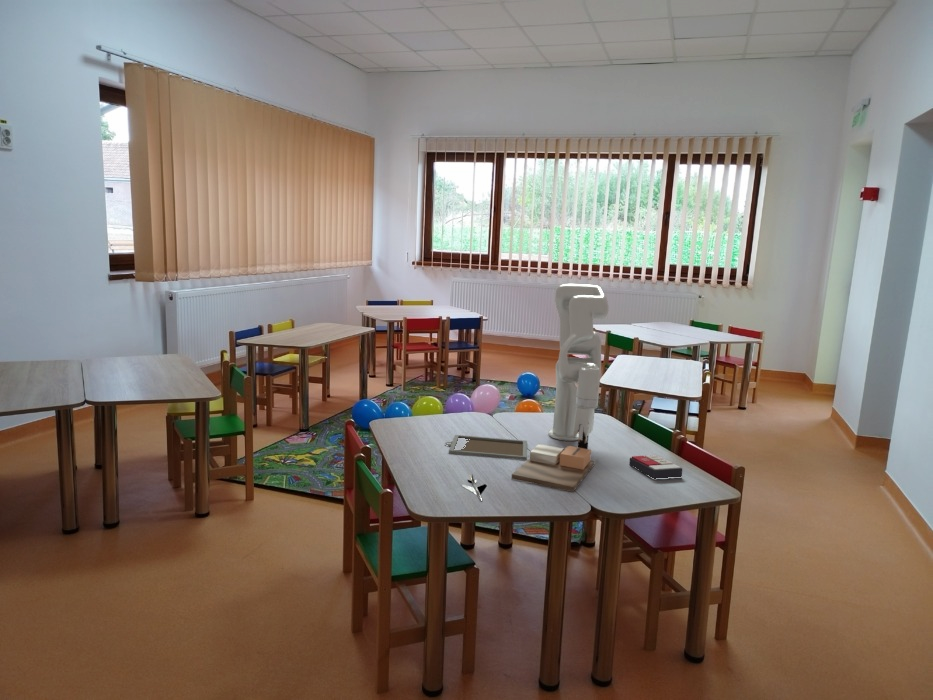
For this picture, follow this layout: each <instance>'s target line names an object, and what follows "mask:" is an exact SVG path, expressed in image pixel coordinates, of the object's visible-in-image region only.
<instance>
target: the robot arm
mask: <svg viewBox="0 0 933 700" xmlns="http://www.w3.org/2000/svg"><path fill="white" fill-rule="evenodd" d="M554 294H555V297H554V298H555V299H554V302H555V305H556V311H557V313H558V317H559V349H560V350H559V353H558V360H557V362H556V363H555V367H554V368H555V382H556V383H555V399H554V400H555V401H554V411H553V421H552V422H553V424H552V429H550V430H549V431H548V436H549V437H550V438H553V439H556V440H559V441H566V442H567V441H572V442H573V441H578V442H577V447H578V448H584V449H589V437H590V434H591V433H592V432H593V431H594V430H593V428H594V423H595V409H597V408H598V406H599V393H600V392H599V391H600V385H601V384H600V383H601V375H602V374H601V373H602V340H601V337H600V334H599V333H598V332H596V331H595V330H594V319H597V320H599V319H600V320H602V319H605V318H607V316H608V314H609V301H608V298H607V296H606V294H605V293H604V291H603V289H602V287H600V286H599V285H597V284H596V285H595V284H594V285H593V284H580V283H563V284H560V285H558V286H557V287H556V289H555V293H554ZM568 355H580V356H581V355H583V356H584V355H585V356H587V358H586V357H572V356H569V357H568ZM576 384H577V385H576Z"/></svg>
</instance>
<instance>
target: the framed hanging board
mask: <svg viewBox="0 0 933 700" xmlns="http://www.w3.org/2000/svg"><path fill="white" fill-rule="evenodd" d="M458 438H465V439H468V440H466V441H469V442H467V443H466V444H465V445H466V447H465V446H464V447H465V448H464V447H463V448H464V449H461V450H454V449H455V446H456V444H457V441H458ZM469 439H470V440H469ZM447 443H451V444H447ZM445 444H446V445H448V446H447V447H449V446H450V447H449V449H448V454H451V453H454V454H453V455H463V456H475V457H487V458H501V459H510V460H511V459H513V460H522V461H527V460H528V441H527V440H523V439H522V440H521V439H513V438H512V439H510V438H501V437H500V438H498V437H485V436H473V435H463V434H455V435H454V437H453V440H451V441H447V442H445V443H444V445H445ZM446 445H445V446H446Z"/></svg>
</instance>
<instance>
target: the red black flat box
mask: <svg viewBox="0 0 933 700" xmlns="http://www.w3.org/2000/svg"><path fill="white" fill-rule="evenodd" d="M630 464H631V465H632V466H634V467H636V468H637V469H639V470H640V471H642V472H643V473H642V472H641V473H642V474H644V473H645V474H647V475H649V476H650V477H652V478H654V479H656V478H668V477H681V476H682V477H683V468H682V466H681V467H680V466H679V465H677V464H675V463H673V462H672V461H670V460H668V459H665V458H663V457H662V456H659V455H656V454H652V455H648V454H647V455H645V456H644V455H634V456H631V457H629V465H630ZM632 466H631V467H632ZM634 467H633V468H634ZM637 469H636V470H637ZM640 471H639V472H640ZM645 474H644V475H645Z"/></svg>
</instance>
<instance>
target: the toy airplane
mask: <svg viewBox="0 0 933 700" xmlns="http://www.w3.org/2000/svg"><path fill="white" fill-rule="evenodd" d="M469 476H471V480H470V479H467V482H468V483H470V484H471V486H470V485H466V484H463V483H462V484H461V486H462V487H463V488H465V489H467V490H468V491H470V492H471V493H473V494H474V495H476V496H477V498H478V500H479V499H480V500H479V501H480V502H483V497H482V494H483V492H484V491H485V489H486V488H487V486H488V485H487V484H486V483H485V484H484V483H483V484H481V485H480V486H477V482H478V480H477V479H474V476H473V474H471V475H470V474H469Z"/></svg>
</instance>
